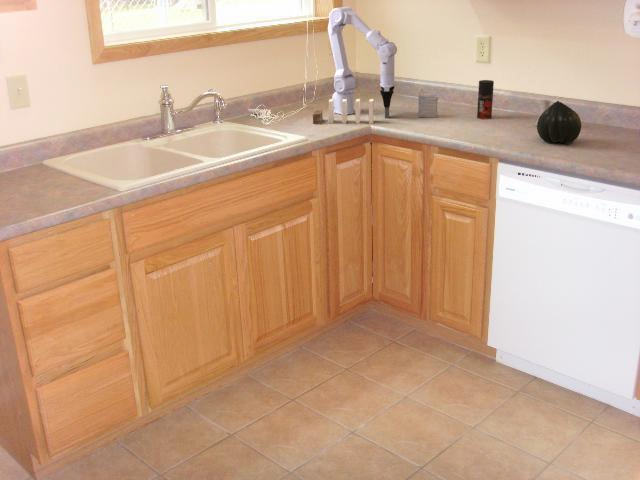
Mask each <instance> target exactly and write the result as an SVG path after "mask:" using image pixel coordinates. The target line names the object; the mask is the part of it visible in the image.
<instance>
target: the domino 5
mask: <svg viewBox="0 0 640 480" xmlns="http://www.w3.org/2000/svg"><path fill="white" fill-rule="evenodd" d="M389 118H390V107H389V108H385V107H384V119H389Z"/></svg>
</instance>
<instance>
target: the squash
mask: <svg viewBox="0 0 640 480" xmlns="http://www.w3.org/2000/svg"><path fill="white" fill-rule="evenodd" d="M538 117H539V116H538ZM537 119H538V118H537ZM536 129H537V134H538V136H539V138H541V140H543V141H544V142H545V143H547V144H553V143H557V142H558V141H559V142H561V143H563V144H565V145H569V144H571V143H573V142H574V141H575V140H577V138H579V136H580V133H581V131H582V120H581V118H580V115H579V114H578V113H577V112H576V111H575V110H573V109H572V108H571V107H570V106H568V105H566V104H565V103H563V102H561V101H558V100H557V101H555V102H553V103H552V104H550V106H549V108H548V109H546V110H545V111H544V112H543V113H542V114H541V116H540V117H539V119H538V123H537V127H536Z"/></svg>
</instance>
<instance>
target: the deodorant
mask: <svg viewBox="0 0 640 480" xmlns="http://www.w3.org/2000/svg"><path fill="white" fill-rule="evenodd" d="M494 82H495V81H494V80H492V79H491V80H490V79H489V80H488V79H481V80H478V92H477V93H478V94H477V112H476V119H479V120H490V119H492V116H493V99H494Z"/></svg>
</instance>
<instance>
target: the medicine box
mask: <svg viewBox="0 0 640 480" xmlns="http://www.w3.org/2000/svg"><path fill="white" fill-rule="evenodd" d="M438 99H439V97H438V95H437V94H423V95H422V94H419V95H418V99H417V101H418V105H417V107H418V108H417V110H418V113H417V115H418V117H417V118H438V103H439V102H438Z"/></svg>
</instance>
